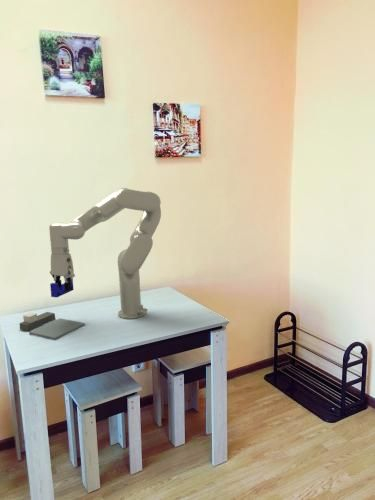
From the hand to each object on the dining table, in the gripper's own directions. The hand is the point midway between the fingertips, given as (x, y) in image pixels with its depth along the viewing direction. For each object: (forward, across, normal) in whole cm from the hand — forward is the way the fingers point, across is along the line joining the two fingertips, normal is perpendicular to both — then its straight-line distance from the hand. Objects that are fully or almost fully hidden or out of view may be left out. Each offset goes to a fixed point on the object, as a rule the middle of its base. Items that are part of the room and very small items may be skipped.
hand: (63, 289), depth 189 cm
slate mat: (+16, -4, +9) cm, 18 cm away
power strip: (+16, +9, +8) cm, 20 cm away
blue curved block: (+2, 0, +2) cm, 2 cm away
